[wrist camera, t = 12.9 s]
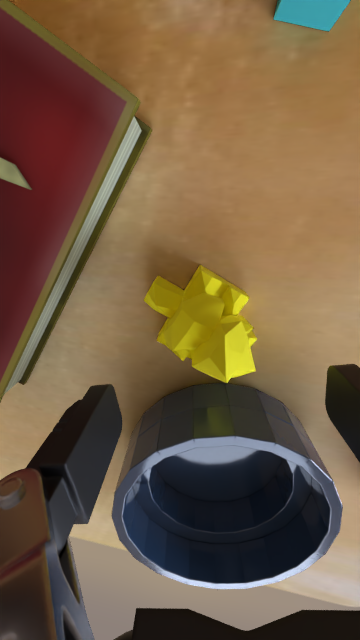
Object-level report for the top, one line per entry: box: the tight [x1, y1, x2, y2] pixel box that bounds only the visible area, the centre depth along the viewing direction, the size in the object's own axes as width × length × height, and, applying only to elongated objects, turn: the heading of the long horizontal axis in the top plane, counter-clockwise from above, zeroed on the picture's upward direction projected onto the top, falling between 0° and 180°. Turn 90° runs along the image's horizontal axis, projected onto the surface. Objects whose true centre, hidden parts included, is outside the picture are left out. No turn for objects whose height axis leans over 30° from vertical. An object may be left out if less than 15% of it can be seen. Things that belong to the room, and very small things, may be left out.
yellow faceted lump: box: [144, 265, 257, 383], centre depth 15 cm, size 6×8×8 cm
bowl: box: [112, 383, 343, 589], centre depth 20 cm, size 16×16×6 cm
